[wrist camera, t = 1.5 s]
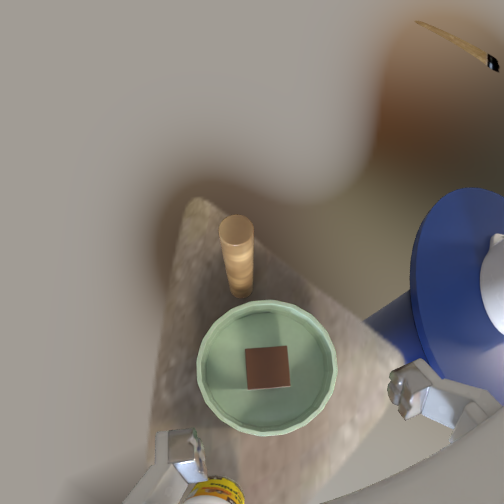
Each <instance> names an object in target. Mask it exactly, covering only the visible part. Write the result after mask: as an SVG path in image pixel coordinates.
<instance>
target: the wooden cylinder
mask: <svg viewBox="0 0 504 504" xmlns="http://www.w3.org/2000/svg"><path fill="white" fill-rule="evenodd" d="M218 233H219V238H220V243H221V248H222V253H223V258H224V263H225V267H226V272H227V277H228V282H229V287H230V291H231V293H232V294H233V295H234V296H235V297H237V298H246V297H248V296H249V295H250V294H251V293H252V290H253V251H254V227H253V224H252V222H251V221H250V220H249V219H248V218H247V217H245V216H243V215H238V214H237V215H230V216H228V217H226V218H225V219H223V221H222V222H221V223H220V225H219V229H218Z"/></svg>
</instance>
